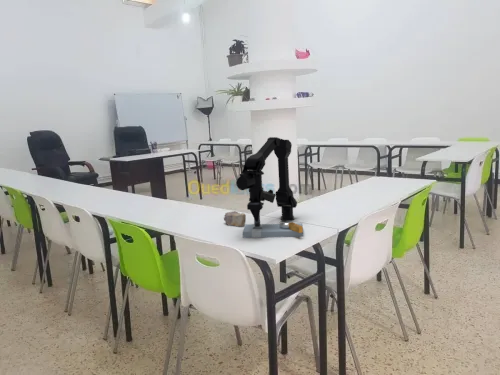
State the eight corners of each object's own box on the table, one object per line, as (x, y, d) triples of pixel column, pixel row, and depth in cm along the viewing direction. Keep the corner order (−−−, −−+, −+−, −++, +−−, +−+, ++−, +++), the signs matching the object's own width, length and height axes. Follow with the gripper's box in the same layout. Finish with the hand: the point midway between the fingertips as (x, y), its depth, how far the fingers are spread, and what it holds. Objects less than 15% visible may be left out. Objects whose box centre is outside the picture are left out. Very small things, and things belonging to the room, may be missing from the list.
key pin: (254, 225, 175) (253, 207, 173) (260, 225, 174) (259, 207, 173) (254, 226, 172) (253, 209, 171) (260, 226, 172) (259, 209, 170)
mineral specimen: (251, 223, 190) (250, 211, 189) (243, 227, 184) (242, 214, 183) (230, 221, 197) (229, 209, 195) (221, 224, 191) (221, 212, 190)
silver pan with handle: (288, 223, 176) (288, 218, 176) (307, 231, 164) (307, 225, 163) (276, 226, 173) (276, 220, 173) (294, 234, 161) (294, 228, 160)
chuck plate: (246, 229, 180) (245, 224, 180) (302, 228, 177) (302, 223, 177) (242, 237, 169) (242, 232, 168) (303, 236, 166) (303, 231, 165)
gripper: (273, 189, 160) (274, 226, 163) (274, 181, 178) (276, 214, 181) (246, 190, 161) (248, 226, 164) (250, 182, 179) (252, 215, 182)
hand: (257, 220), depth 173 cm, fingers closed on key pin, 3 cm apart
